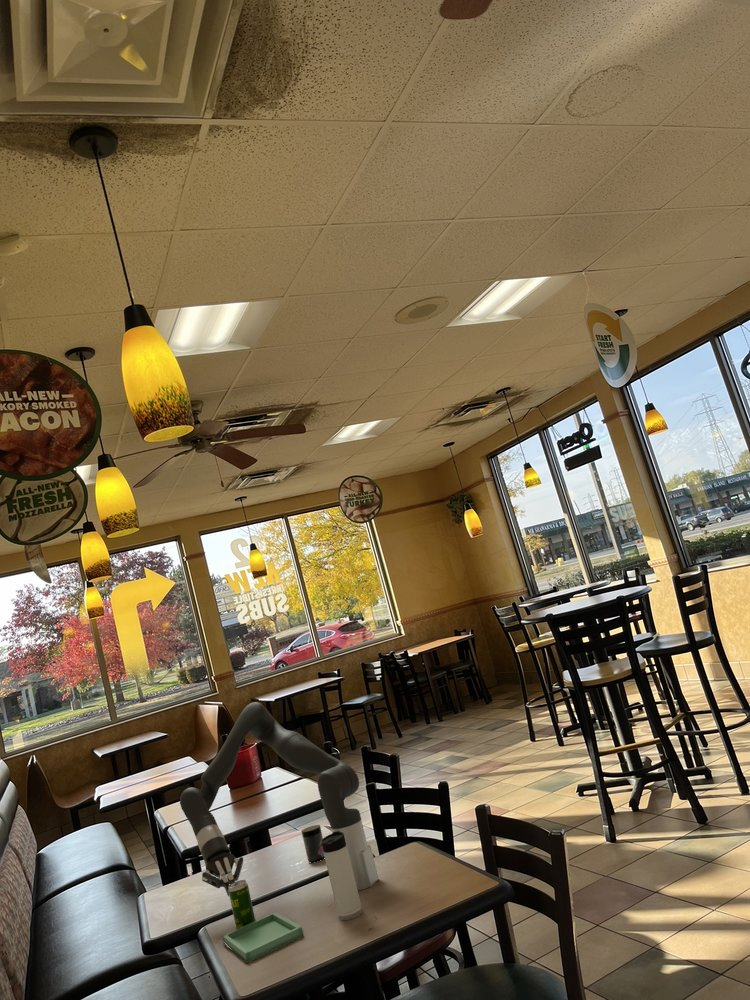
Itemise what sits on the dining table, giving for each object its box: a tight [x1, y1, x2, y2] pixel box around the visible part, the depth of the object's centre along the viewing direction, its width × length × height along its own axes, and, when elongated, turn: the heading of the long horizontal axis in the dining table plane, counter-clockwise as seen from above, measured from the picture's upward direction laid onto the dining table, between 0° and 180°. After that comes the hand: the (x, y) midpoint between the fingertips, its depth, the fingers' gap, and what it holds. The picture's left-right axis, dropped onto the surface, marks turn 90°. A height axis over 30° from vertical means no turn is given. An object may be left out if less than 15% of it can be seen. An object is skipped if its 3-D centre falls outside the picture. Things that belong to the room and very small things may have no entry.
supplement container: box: [301, 824, 325, 864], centre depth 249 cm, size 7×7×10 cm
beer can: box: [228, 879, 257, 930], centre depth 199 cm, size 5×5×12 cm
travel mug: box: [321, 831, 363, 921], centre depth 190 cm, size 6×7×20 cm
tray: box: [221, 911, 305, 964], centre depth 187 cm, size 20×15×2 cm
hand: (233, 895), depth 204 cm, fingers closed
